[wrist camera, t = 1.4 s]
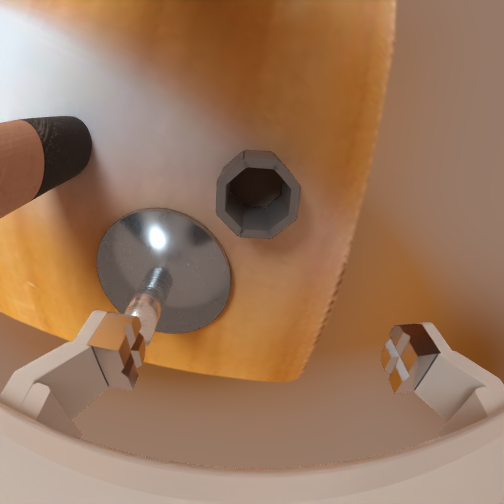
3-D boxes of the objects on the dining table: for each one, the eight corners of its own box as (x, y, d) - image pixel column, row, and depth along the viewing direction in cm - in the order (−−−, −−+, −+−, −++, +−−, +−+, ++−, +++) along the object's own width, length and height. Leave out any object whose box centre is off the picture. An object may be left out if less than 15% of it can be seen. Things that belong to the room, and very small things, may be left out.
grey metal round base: (92, 206, 28) (39, 246, 19) (233, 211, 28) (226, 258, 19) (113, 320, 35) (85, 374, 26) (229, 332, 35) (224, 396, 26)
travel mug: (35, 136, 23) (-103, 186, 5) (80, 100, 22) (-81, 122, 4) (57, 191, 27) (-71, 278, 9) (104, 161, 26) (-49, 241, 8)
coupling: (224, 148, 26) (217, 156, 20) (292, 153, 26) (303, 162, 20) (221, 212, 28) (215, 235, 23) (285, 216, 29) (293, 240, 23)
